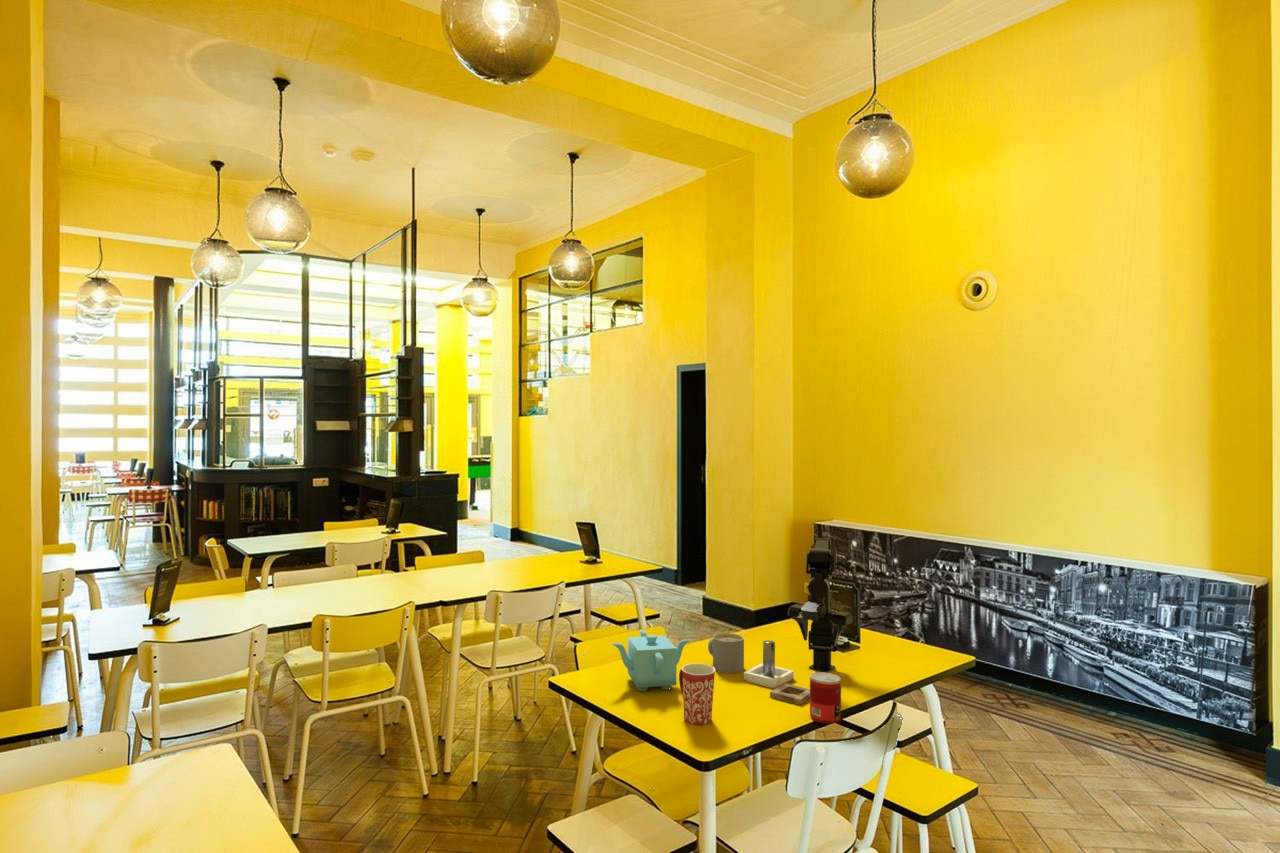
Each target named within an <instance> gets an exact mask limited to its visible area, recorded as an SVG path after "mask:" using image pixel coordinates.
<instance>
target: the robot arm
mask: <svg viewBox="0 0 1280 853" xmlns="http://www.w3.org/2000/svg"><path fill="white" fill-rule="evenodd" d="M837 558H838V556H837V547H836V546H835V545H834V544H833V543H832V540H831V538H828V537H826V538H825V537H816V538H815V539H814V543H813V544H812V545H810V549H809V551H808V552H807V553H806V568H805V574H808V575H810V576H809V582H808V585H807V591H808V593H809V594H808V596H807V602H805V603H804V604H799V603H795V604H793V605H790V606H789V607H788V609H787V616H788V617H791V619H792V620H794V621H795V622H796V623H797V625H798V626H799V629H800V632H801V634H802V638H803V640H804V641H806V642H807V640H808V643H807V644H808V650H809V651H810V650H812V664H811V665H809V666H808V668H809V669H811V670H816V671H819V672H824V673H830V672H831V671H832V670H834V669H836V666H835V665H833V664H832V652H833V653H836V652H838V650H839V649H838V648H839V646H838V643H839V642H838V640H839V638H840V636H841V633H842V632H843V630H844V629H845V627H846V626H848V625H850V624H852V623H854V617H853V615H852V613H851V612H848V611H847V612H846V611H841V610H839V611H838V612H834V613H833V612H832V607H830V603H831V602H830V599H831V598H832V594H831V593H830V592H831V591H830V590H831V589H830V584H831V583H830V580H831V579H830V578H831V577H830V576H833V573H835V570H836V569H835V568H836V565H835V564H837ZM831 620H832V622H833V624H832V622H831ZM809 621H812V622H811V624H810V630H809Z"/></svg>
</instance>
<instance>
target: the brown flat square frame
mask: <svg viewBox="0 0 1280 853" xmlns="http://www.w3.org/2000/svg"><path fill="white" fill-rule="evenodd" d="M788 692H789V693H788ZM790 693H792V694H790ZM795 694H797V695H795ZM769 697H770V698H773V699H776V700H779V699H780V701H784V702H786V703H787V702H788V703H790V704H795V705H798V706H801V705H803V704H804V703H805V702H807V701H810V688H807V687H802V686H798V685H795V684H791V683H785V684H783V685H781V686H779V687H778V688H776V689H775V688H773V690H771V691H770V692H769Z"/></svg>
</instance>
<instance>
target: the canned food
mask: <svg viewBox="0 0 1280 853" xmlns="http://www.w3.org/2000/svg"><path fill="white" fill-rule="evenodd" d="M809 689H810V699H809V715H810V718H811V720H813V721H815V722H818V723H820V724H826V725H827V724H829V723H830V724H837V723H839V722H840V720H841V718H842V717H841V716H842V678H841V677H840V676H839V675H837V674H834V673H830V672H823V671H819V672H813V673H812V674H810V675H809ZM830 724H829V725H830Z"/></svg>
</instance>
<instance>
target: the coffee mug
mask: <svg viewBox="0 0 1280 853" xmlns="http://www.w3.org/2000/svg"><path fill="white" fill-rule="evenodd" d="M707 650H708V654H709V655H710V656H712V667H714V668H715V669H716V670H717V671H716V672H718V671H719V672H718V673H722V672H723V674H738V673H741V672H743V671H744V668H745V660H744V659H745V637H744V636H743V635H740V634H738V633H731V632H720V633H716V634H714V635H713V636H712V638H709V640H708V643H707Z"/></svg>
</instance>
